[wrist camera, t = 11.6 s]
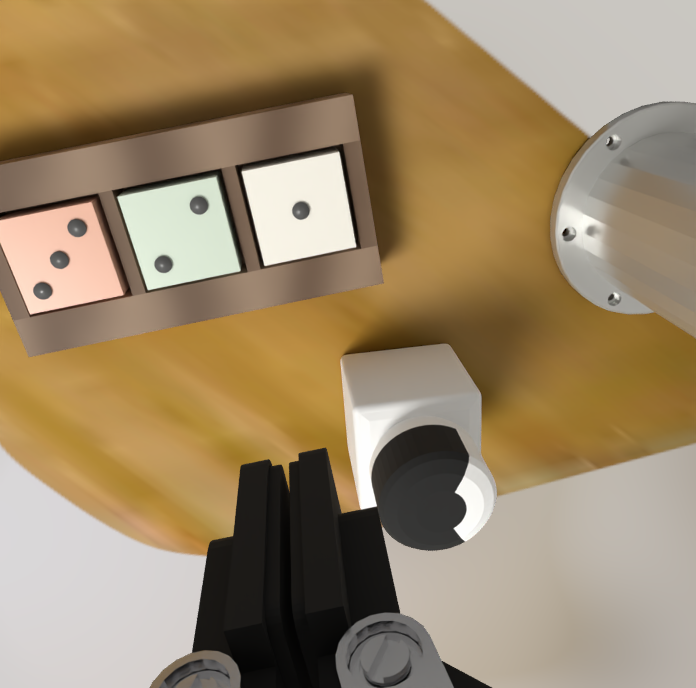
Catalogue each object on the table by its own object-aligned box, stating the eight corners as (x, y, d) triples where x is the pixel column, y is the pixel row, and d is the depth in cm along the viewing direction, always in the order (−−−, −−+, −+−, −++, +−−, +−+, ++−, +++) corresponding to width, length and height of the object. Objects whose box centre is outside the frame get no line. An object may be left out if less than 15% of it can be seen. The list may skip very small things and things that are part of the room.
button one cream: (334, 146, 34) (339, 152, 32) (351, 236, 36) (356, 247, 34) (243, 164, 34) (241, 172, 32) (264, 253, 36) (264, 266, 34)
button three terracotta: (103, 193, 34) (90, 202, 32) (132, 281, 36) (123, 295, 34) (9, 212, 34) (-10, 222, 31) (44, 299, 36) (29, 315, 34)
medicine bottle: (347, 448, 43) (373, 577, 32) (339, 353, 40) (365, 459, 29) (450, 435, 44) (510, 558, 33) (449, 340, 41) (515, 440, 30)
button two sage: (219, 169, 34) (216, 177, 32) (242, 258, 36) (240, 271, 34) (127, 188, 34) (116, 197, 32) (155, 276, 36) (147, 290, 34)
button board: (346, 92, 34) (352, 94, 32) (375, 267, 38) (383, 283, 36) (-24, 166, 34) (-50, 174, 31) (46, 336, 38) (29, 357, 35)
